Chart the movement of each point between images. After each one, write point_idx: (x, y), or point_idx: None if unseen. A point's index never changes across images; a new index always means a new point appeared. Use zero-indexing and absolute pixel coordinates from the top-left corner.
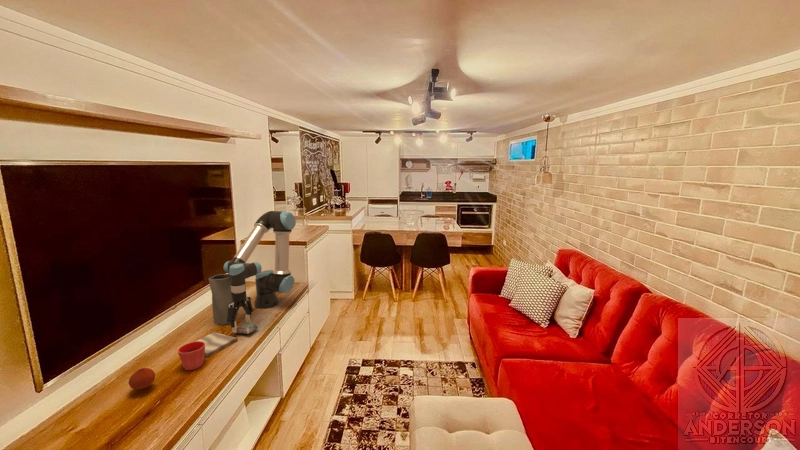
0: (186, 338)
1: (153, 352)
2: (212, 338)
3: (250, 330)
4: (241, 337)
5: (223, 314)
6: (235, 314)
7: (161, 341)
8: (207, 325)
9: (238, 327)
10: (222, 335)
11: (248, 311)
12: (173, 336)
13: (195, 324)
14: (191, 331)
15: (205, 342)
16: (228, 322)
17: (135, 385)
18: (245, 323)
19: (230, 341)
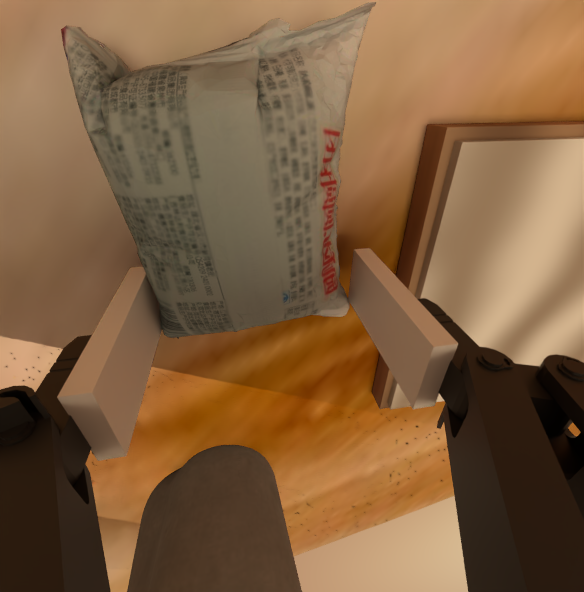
0: (442, 450)
1: (573, 433)
2: (489, 337)
3: (287, 46)
4: (345, 159)
5: (276, 563)
6: (559, 521)
7: None
8: (290, 497)
9: (328, 286)
10: None
11: (36, 503)
12: (432, 491)
13: (307, 527)
14: (372, 488)
15: (553, 324)
16: (233, 458)
17: None
18: (216, 289)
19: (530, 139)
